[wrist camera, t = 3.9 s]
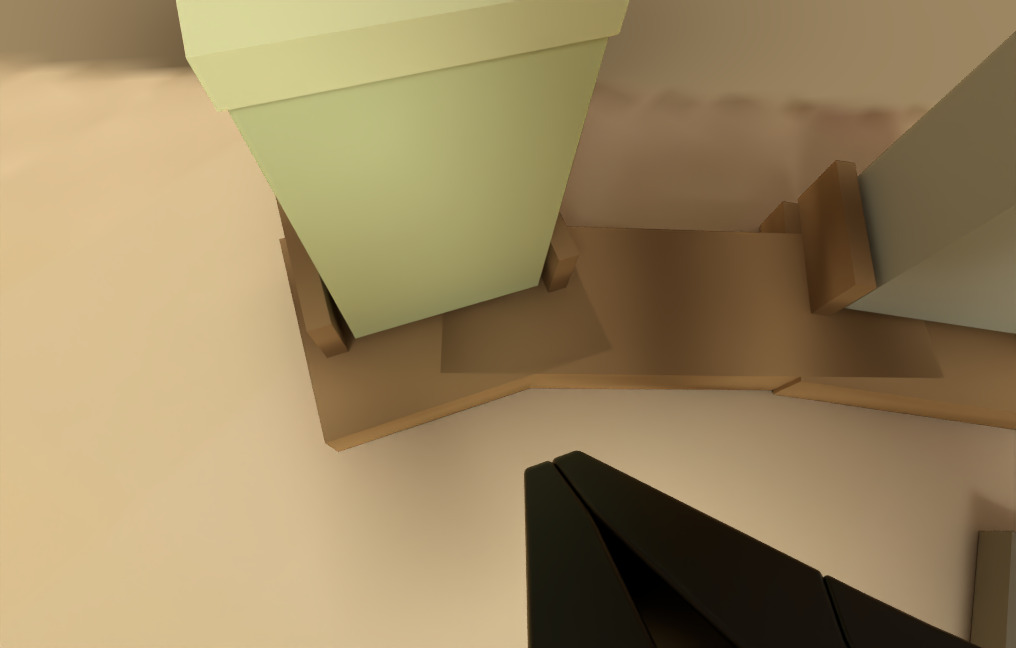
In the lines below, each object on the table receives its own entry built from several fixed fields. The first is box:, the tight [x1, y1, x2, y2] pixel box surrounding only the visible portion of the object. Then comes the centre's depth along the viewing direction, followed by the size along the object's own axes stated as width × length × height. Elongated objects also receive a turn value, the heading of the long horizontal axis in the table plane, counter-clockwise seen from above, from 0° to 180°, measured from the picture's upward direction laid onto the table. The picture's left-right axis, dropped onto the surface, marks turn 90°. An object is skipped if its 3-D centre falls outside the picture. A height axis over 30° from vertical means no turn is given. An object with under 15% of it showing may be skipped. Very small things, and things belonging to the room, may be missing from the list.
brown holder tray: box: [275, 160, 1016, 452], centre depth 16 cm, size 25×9×4 cm, turn 92°
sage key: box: [176, 0, 629, 339], centre depth 11 cm, size 4×6×9 cm
